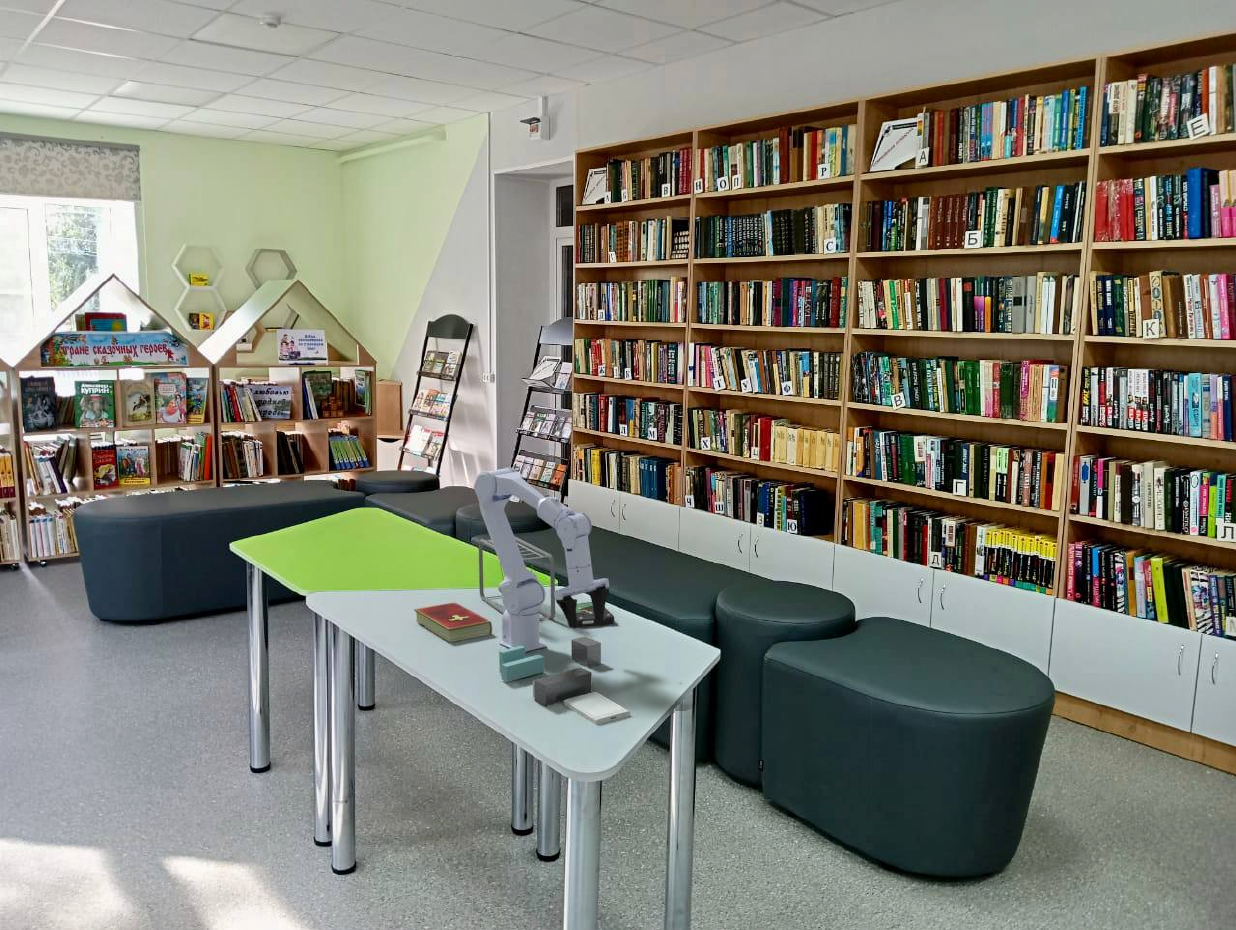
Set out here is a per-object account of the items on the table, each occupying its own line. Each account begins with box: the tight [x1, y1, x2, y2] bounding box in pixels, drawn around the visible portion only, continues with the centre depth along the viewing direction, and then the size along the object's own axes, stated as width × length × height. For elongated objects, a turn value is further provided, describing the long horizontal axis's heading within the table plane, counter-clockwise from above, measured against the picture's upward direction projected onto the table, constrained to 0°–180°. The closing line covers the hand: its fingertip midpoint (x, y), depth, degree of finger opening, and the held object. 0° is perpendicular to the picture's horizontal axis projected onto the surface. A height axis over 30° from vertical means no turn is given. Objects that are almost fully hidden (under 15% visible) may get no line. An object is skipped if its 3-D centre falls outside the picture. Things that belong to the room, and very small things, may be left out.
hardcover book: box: [413, 601, 493, 643], centre depth 251 cm, size 12×21×4 cm, turn 35°
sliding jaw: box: [498, 646, 545, 683], centre depth 217 cm, size 6×10×5 cm, turn 130°
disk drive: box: [576, 601, 615, 629], centre depth 260 cm, size 10×3×15 cm
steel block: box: [571, 636, 602, 668], centre depth 226 cm, size 6×4×5 cm, turn 40°
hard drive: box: [563, 691, 631, 726], centre depth 198 cm, size 2×8×12 cm
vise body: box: [532, 666, 593, 707], centre depth 205 cm, size 6×12×4 cm, turn 130°
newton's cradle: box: [478, 535, 556, 621], centre depth 267 cm, size 30×10×18 cm, turn 28°
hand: (586, 624), depth 224 cm, fingers open, 7 cm apart
